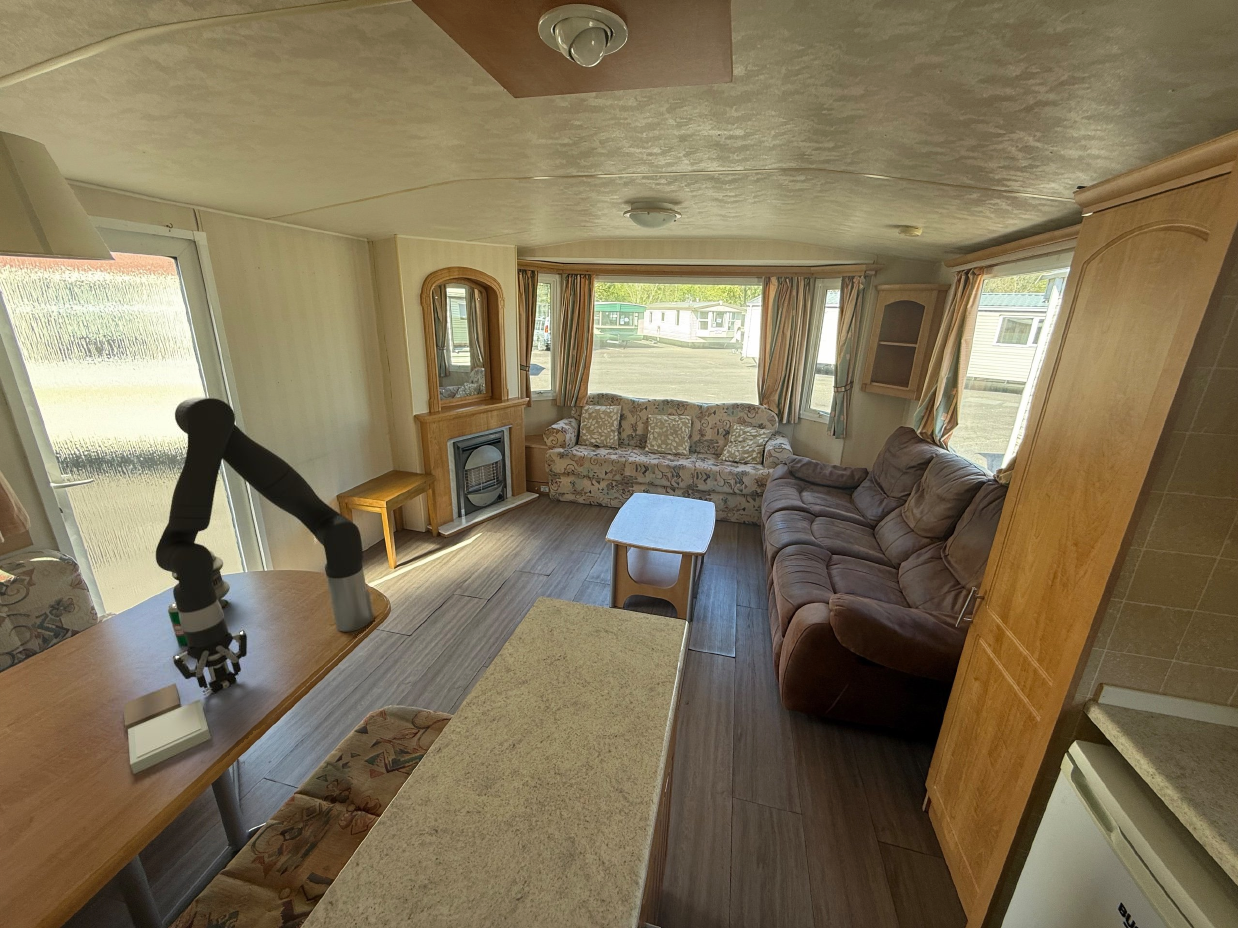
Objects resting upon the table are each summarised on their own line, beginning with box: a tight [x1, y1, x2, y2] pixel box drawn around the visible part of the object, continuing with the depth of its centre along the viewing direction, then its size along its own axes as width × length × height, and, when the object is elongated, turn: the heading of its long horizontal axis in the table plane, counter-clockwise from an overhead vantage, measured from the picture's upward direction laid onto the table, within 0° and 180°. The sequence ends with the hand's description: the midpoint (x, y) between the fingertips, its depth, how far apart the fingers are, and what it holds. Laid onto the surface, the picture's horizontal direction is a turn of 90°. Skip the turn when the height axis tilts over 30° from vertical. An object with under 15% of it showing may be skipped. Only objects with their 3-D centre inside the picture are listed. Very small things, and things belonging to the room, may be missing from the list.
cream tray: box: [127, 698, 212, 775], centre depth 105 cm, size 12×12×3 cm
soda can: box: [167, 601, 188, 647], centre depth 134 cm, size 5×5×12 cm
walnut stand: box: [123, 683, 182, 734], centre depth 112 cm, size 9×9×2 cm
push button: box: [202, 649, 237, 697], centre depth 118 cm, size 7×5×10 cm
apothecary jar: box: [171, 550, 230, 610], centre depth 148 cm, size 12×12×18 cm
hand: (221, 679), depth 119 cm, fingers closed on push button, 5 cm apart
